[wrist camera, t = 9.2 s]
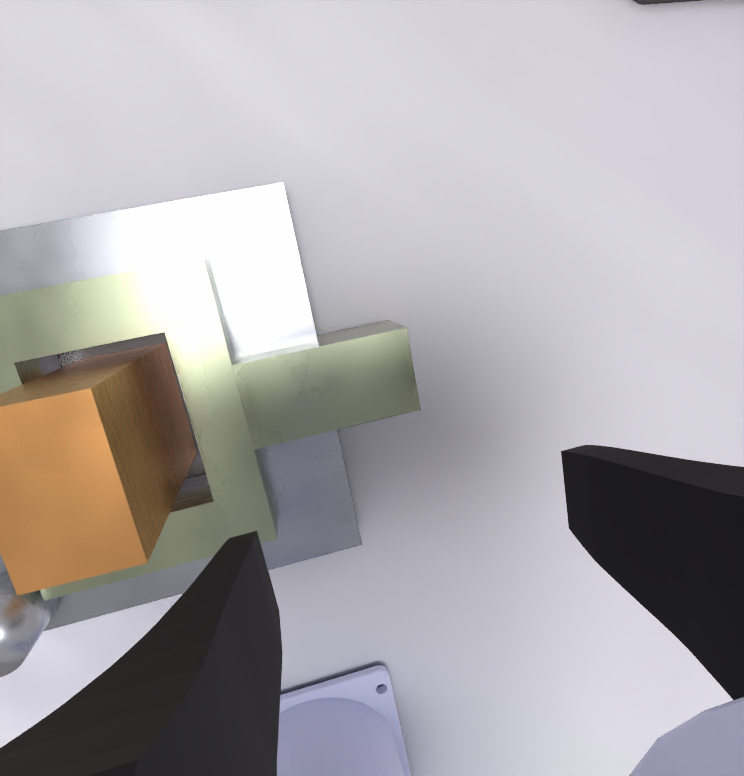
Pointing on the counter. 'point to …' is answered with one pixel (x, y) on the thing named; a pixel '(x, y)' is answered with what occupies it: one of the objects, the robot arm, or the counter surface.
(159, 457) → the wooden rectangular peg
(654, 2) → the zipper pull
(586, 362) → the counter surface
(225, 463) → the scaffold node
